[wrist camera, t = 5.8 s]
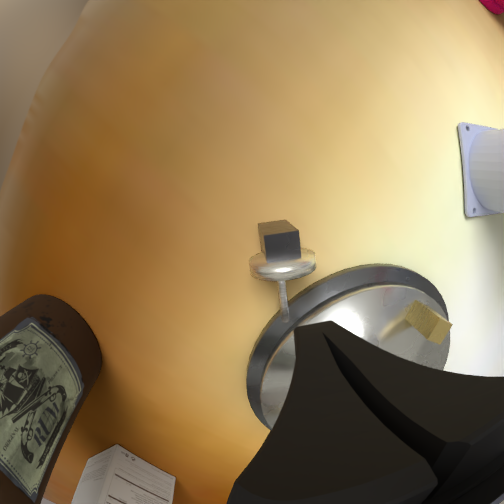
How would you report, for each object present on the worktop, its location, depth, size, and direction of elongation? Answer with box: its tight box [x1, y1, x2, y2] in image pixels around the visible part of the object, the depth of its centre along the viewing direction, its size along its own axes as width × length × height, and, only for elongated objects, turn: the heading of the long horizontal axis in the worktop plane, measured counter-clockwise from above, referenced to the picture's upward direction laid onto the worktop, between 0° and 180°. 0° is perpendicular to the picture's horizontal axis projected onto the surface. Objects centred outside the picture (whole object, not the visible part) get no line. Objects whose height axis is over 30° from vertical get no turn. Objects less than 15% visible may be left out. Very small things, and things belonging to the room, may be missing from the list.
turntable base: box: [246, 264, 449, 430], centre depth 21 cm, size 19×19×1 cm
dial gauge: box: [249, 220, 316, 323], centre depth 16 cm, size 4×6×5 cm, turn 8°
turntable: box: [260, 281, 453, 428], centre depth 18 cm, size 17×17×4 cm
